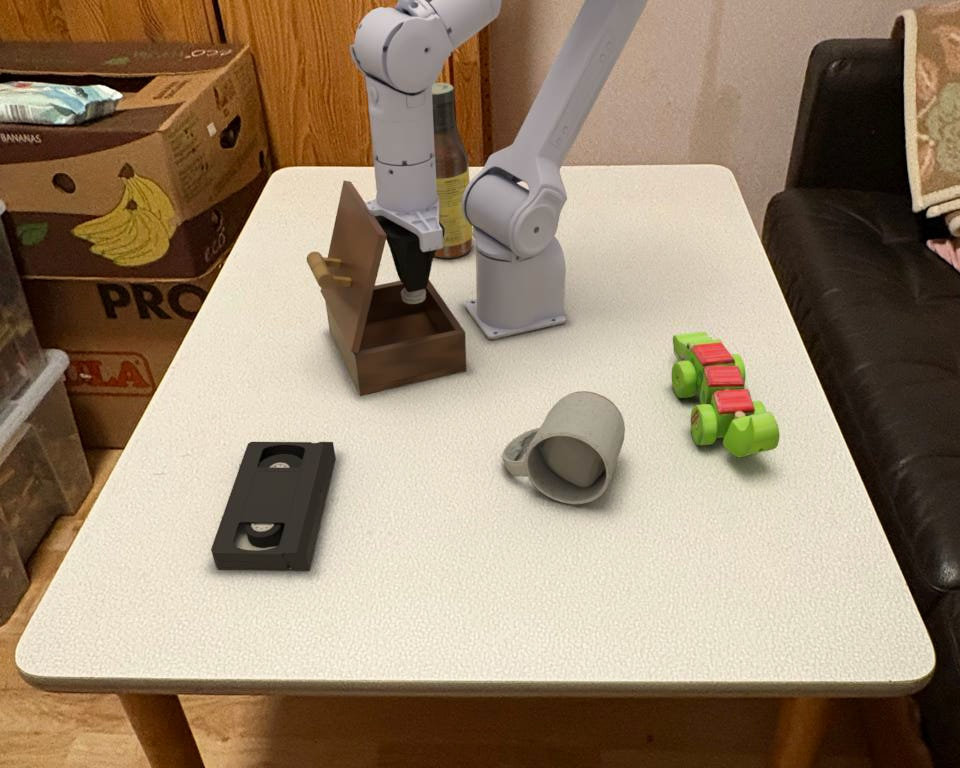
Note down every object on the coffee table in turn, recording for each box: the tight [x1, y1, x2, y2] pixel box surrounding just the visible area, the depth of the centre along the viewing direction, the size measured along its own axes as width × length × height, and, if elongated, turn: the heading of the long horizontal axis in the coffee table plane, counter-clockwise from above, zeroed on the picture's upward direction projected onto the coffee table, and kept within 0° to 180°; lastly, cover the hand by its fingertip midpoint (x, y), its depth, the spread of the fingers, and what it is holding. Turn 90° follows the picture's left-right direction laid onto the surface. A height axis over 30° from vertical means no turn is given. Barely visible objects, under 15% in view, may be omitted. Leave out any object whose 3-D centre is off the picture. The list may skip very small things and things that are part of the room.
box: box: [324, 279, 467, 396], centre depth 97 cm, size 12×13×5 cm
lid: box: [306, 180, 387, 353], centre depth 90 cm, size 12×13×4 cm
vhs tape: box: [210, 441, 337, 571], centre depth 80 cm, size 14×8×2 cm, turn 178°
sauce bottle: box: [432, 82, 473, 259], centre depth 109 cm, size 6×6×20 cm
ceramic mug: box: [501, 390, 626, 505], centre depth 81 cm, size 11×8×8 cm
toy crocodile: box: [671, 331, 781, 458], centre depth 88 cm, size 20×7×6 cm, turn 5°
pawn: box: [401, 288, 426, 304], centre depth 93 cm, size 3×3×4 cm
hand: (413, 284), depth 93 cm, fingers closed on pawn
